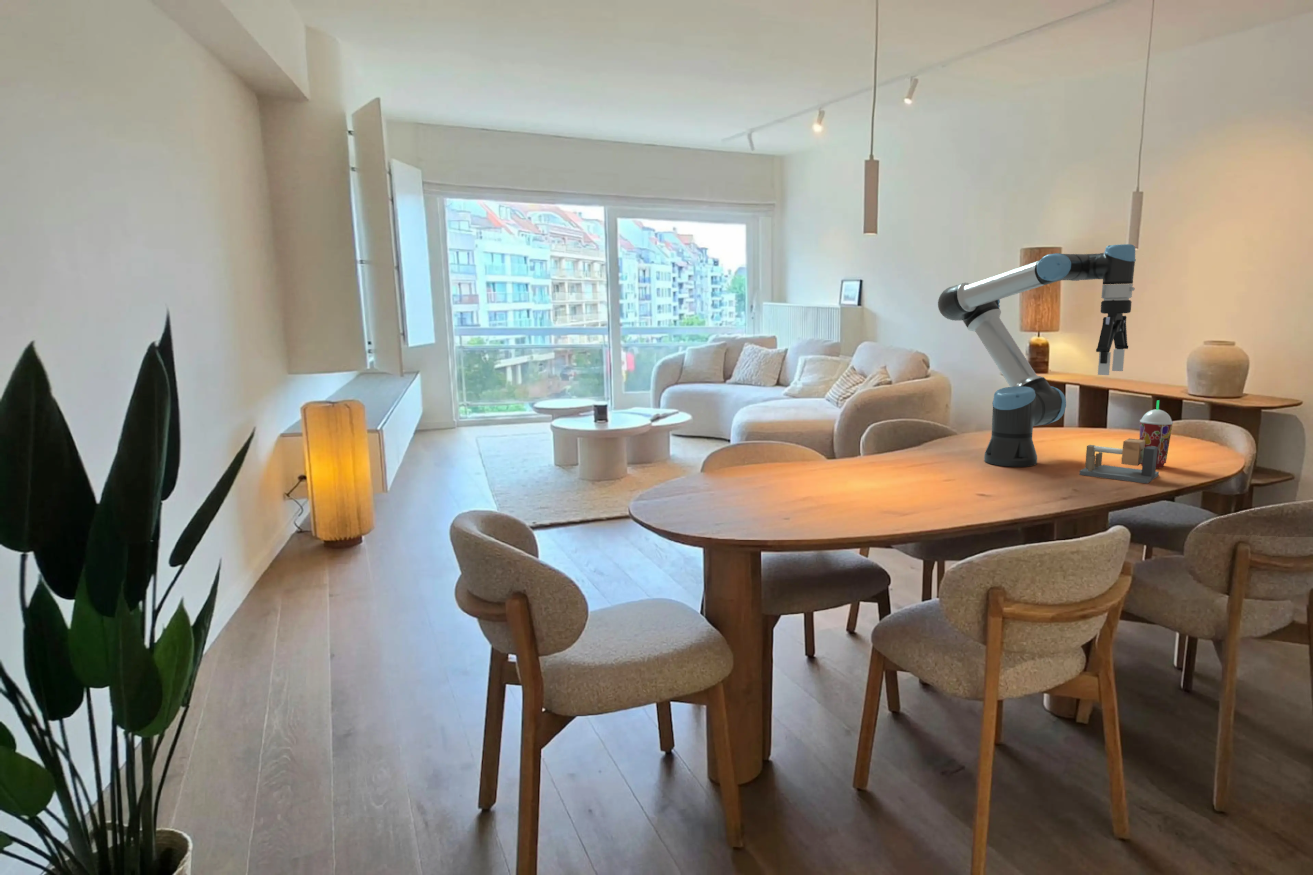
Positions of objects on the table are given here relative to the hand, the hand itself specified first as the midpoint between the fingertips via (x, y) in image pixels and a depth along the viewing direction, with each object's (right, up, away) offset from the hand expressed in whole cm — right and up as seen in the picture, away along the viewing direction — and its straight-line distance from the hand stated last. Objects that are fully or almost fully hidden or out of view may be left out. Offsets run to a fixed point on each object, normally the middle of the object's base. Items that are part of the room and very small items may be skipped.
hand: (1110, 373), depth 220 cm
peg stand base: (0, -30, -4) cm, 30 cm away
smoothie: (+16, -28, +6) cm, 33 cm away
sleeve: (+2, -26, -7) cm, 27 cm away
